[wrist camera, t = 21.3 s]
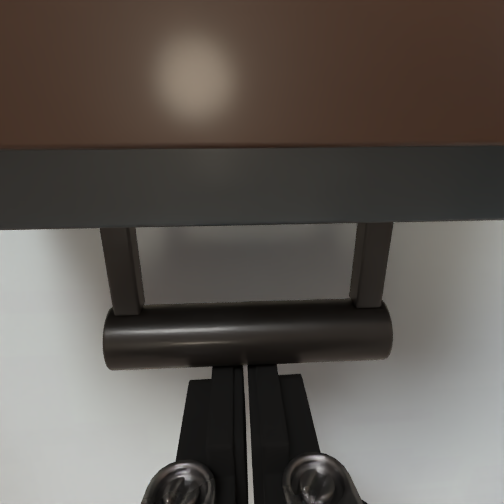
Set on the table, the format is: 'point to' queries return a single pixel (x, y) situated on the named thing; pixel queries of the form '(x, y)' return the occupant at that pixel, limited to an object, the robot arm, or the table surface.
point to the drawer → (247, 213)
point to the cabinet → (250, 74)
